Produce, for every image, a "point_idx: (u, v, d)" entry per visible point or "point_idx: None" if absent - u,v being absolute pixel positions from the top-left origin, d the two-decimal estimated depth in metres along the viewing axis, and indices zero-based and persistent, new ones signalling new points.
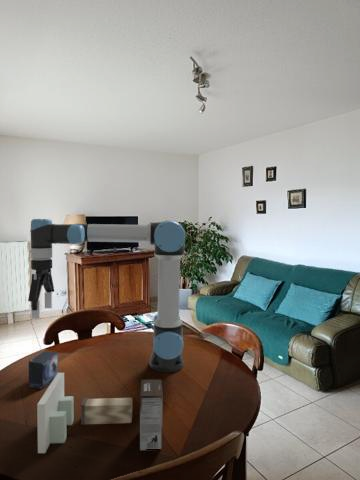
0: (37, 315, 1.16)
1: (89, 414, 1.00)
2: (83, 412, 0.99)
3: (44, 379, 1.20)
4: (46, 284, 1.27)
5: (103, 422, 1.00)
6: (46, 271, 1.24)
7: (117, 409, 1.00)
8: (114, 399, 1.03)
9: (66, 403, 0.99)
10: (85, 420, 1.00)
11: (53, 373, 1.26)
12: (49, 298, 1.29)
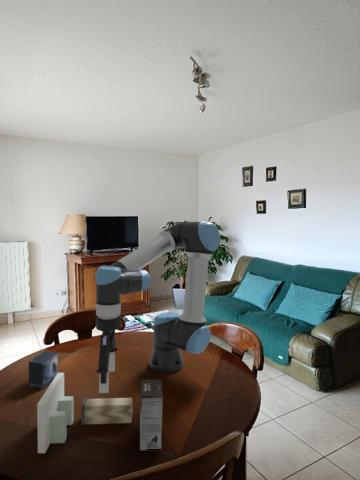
0: (106, 389, 0.94)
1: (89, 414, 1.00)
2: (83, 412, 0.99)
3: (44, 379, 1.20)
4: None
5: (103, 422, 1.00)
6: None
7: (117, 409, 1.00)
8: (114, 399, 1.03)
9: (66, 403, 0.99)
10: (85, 420, 1.00)
11: (53, 373, 1.26)
12: (112, 359, 1.07)
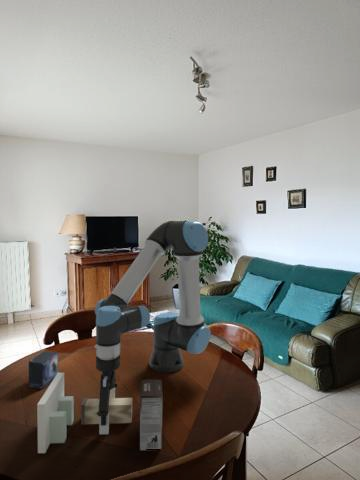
0: (106, 430, 0.95)
1: (89, 414, 1.00)
2: (83, 412, 0.99)
3: (44, 379, 1.20)
4: None
5: None
6: None
7: (117, 409, 1.00)
8: (114, 399, 1.03)
9: (66, 403, 0.99)
10: (85, 420, 1.00)
11: (53, 373, 1.26)
12: (112, 395, 1.08)
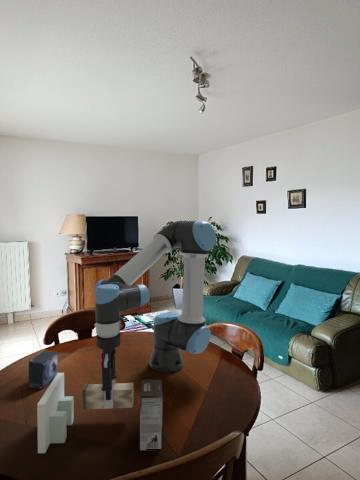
0: (111, 404, 1.00)
1: (90, 399, 1.00)
2: (84, 397, 0.99)
3: (44, 379, 1.20)
4: None
5: None
6: None
7: (118, 394, 1.00)
8: (115, 384, 1.03)
9: (66, 403, 0.99)
10: (86, 405, 1.00)
11: (53, 373, 1.26)
12: None
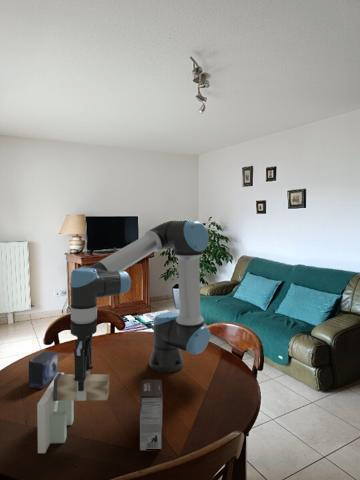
0: (84, 396, 0.93)
1: (62, 390, 0.93)
2: (55, 387, 0.93)
3: (44, 379, 1.20)
4: None
5: None
6: None
7: (92, 385, 0.94)
8: (90, 375, 0.97)
9: (66, 403, 0.99)
10: (58, 396, 0.93)
11: (53, 373, 1.26)
12: None
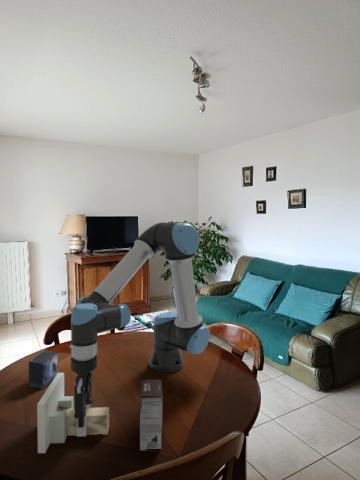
0: (84, 432, 0.94)
1: None
2: None
3: (44, 379, 1.20)
4: None
5: None
6: None
7: (92, 420, 0.95)
8: (90, 409, 0.98)
9: (66, 403, 0.99)
10: None
11: (53, 373, 1.26)
12: None
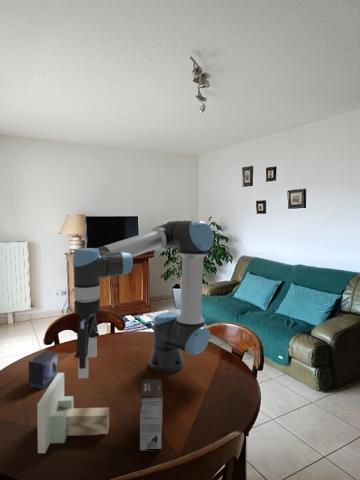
0: (85, 374, 0.90)
1: None
2: None
3: (44, 379, 1.20)
4: None
5: (77, 434, 0.94)
6: (92, 313, 0.98)
7: (92, 420, 0.95)
8: (90, 409, 0.98)
9: (66, 403, 0.99)
10: None
11: (53, 373, 1.26)
12: (94, 345, 1.04)
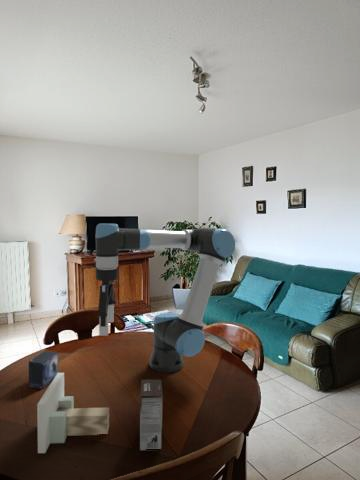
0: (105, 332, 1.03)
1: None
2: None
3: (44, 379, 1.20)
4: None
5: (77, 434, 0.94)
6: (110, 281, 1.11)
7: (92, 420, 0.95)
8: (89, 409, 0.98)
9: (66, 403, 0.99)
10: None
11: (53, 373, 1.26)
12: (111, 311, 1.17)
